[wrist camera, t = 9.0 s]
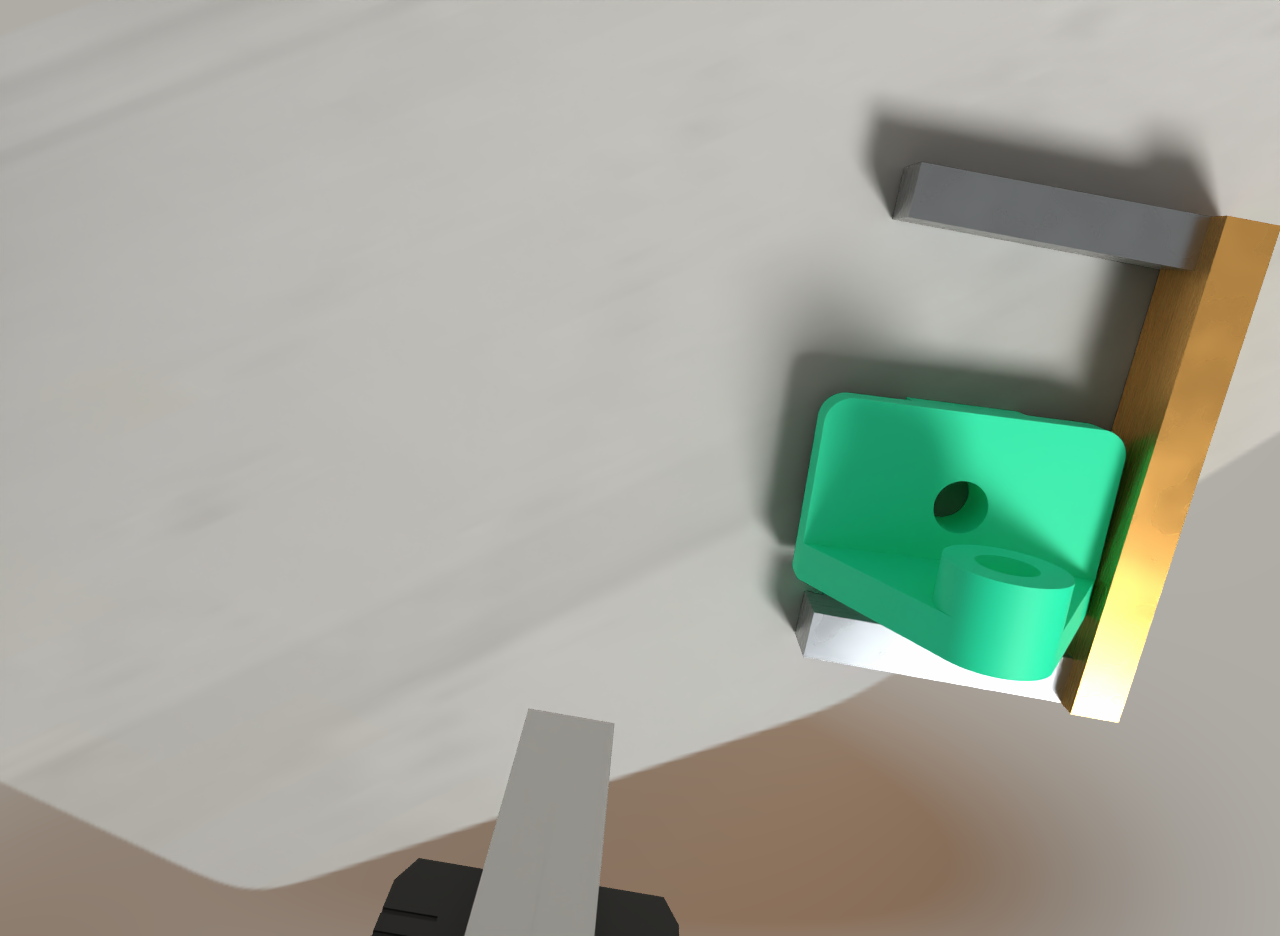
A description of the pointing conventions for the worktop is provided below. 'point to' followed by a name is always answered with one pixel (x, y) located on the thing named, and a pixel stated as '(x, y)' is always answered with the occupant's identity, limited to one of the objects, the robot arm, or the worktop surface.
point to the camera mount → (959, 526)
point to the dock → (1145, 421)
